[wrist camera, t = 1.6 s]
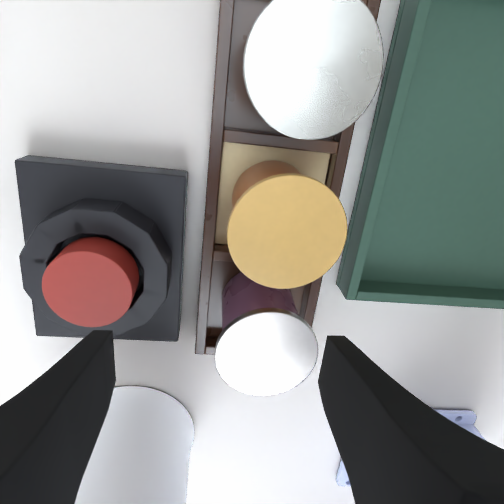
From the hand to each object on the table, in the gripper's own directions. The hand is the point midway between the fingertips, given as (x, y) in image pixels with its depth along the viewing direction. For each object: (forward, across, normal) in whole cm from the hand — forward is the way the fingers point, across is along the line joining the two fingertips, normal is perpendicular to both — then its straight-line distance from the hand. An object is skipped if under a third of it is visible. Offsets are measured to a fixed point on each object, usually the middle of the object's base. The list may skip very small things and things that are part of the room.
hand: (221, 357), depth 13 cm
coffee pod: (+9, -3, -3) cm, 10 cm away
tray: (+10, -14, -6) cm, 18 cm away
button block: (+10, +6, +1) cm, 12 cm away
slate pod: (+10, -3, -9) cm, 14 cm away
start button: (+7, +6, +1) cm, 9 cm away
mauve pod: (+10, -2, +3) cm, 10 cm away
